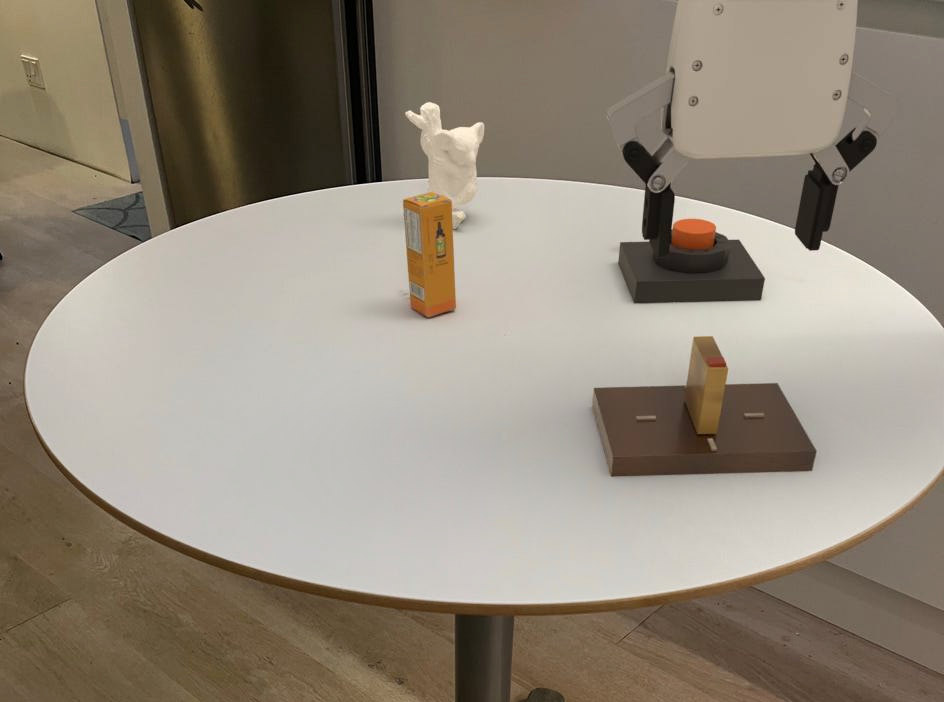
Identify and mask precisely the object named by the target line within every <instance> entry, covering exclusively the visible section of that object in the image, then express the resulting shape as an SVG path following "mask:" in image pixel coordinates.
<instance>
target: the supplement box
mask: <svg viewBox="0 0 944 702" xmlns="http://www.w3.org/2000/svg"><path fill="white" fill-rule="evenodd" d="M402 206H403V220H404V222H403V223H404V236H405V249H406V264H407V275H408V287H409V299H410V300H409V301H410V302H409V303H410V307H411V309H412V310H414V311H416V312H417V313H419V314H421V315H422V316H424V317H426V318H432V317H435V316H437V315H441V314H443V313H447V312H452V311H455V310H456V308H457V301H456V299H457V298H456V297H457V296H456V274H455V251H454V249H455V247H454V229H453V223H452V200H451V199H449V198H446V197H444V196H442V195H439V194H436V193H433V192H429V193H427V192H425V193H422V194H418V195H413V196H411V197H406V198H403V200H402Z"/></svg>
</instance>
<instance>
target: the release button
mask: <svg viewBox="0 0 944 702" xmlns="http://www.w3.org/2000/svg"><path fill="white" fill-rule="evenodd" d="M672 229H673V230H672V238H671V244H672V245H674V246H676V247H678V248H684V249H690V250H699V249H708V248H711V247H713V245H714V239H715V232H717V226H716V224H715V223H714V222H712V221H709V220H706V219H701V218H683V219H678V220H676V221H675V222H674V223H672Z"/></svg>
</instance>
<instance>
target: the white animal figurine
mask: <svg viewBox="0 0 944 702" xmlns="http://www.w3.org/2000/svg"><path fill="white" fill-rule="evenodd" d="M419 111H420V114H417V113H415V112H413V110H410V109H409V110H408V111H405V113H404V115H405V117H406V118H407V119H408V120H409V122H411V123H412V124H413V125H414V126H416V127H417V128H418V129H420V130H421V133H420V142H419V143H420V147H421V150H422V152H424V154H425V155H426V156H427V160H428V165H427V169H428V176H427V177H428V180H427V182H428V189H427V191H426V193H429V192H433V193H436V194H439V195H442V196H444V197H446V198H449V199H451V200H452V223H453V230H456V229H458V228H459V227H460V225H461V223H462V222H463V221H465V219H466V218H467V212H466V211H465V210H463V209H459V208H458V207H460V206H464V205H467V204H468V203H470V202H472V200H474V199H475V198H476V195H477V191H478V190H477V189H478V188H477V177H478V176H477V175H478V172H477V165H476V163H477V156H478V153H479V148H480V144H481V143H482V142H483V139H484V136H485V124H484V122H482V121H481V122H479V121H478V122H476V123H475V124H473V125H472V126H469V127H468V126H466V127H465V126H458V127H456V128H452V129H450V130H449V129H448V130H447V129H443V128H442V120H441V109H440V106H439V105H438V104H437V103H435V102H431V101H428V102H426V103H424V104H422V105H421V106H420V108H419Z"/></svg>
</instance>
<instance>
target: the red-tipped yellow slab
mask: <svg viewBox="0 0 944 702" xmlns="http://www.w3.org/2000/svg"><path fill="white" fill-rule="evenodd" d="M728 373H729V367H728V365H727V362H726V360H725V357H724V356H723V355H722V352H721V349H720V348H719V346H718V344H717V342H716V340H715V338H714V336H712V335H707V336H706V335H703V336H693V339H692V344H691V352H690V359H689V365H688V371H687V376H686V377H687V378H686V391H685V398H684V401H685V404H686V406H687V409H688V411H689V414H690V416H691V419H692V421H693V424H694V427H695V429H696V432H697V434H717V430H718V424H719V419H720V413H721V407H722V402H723V396H724V390H725V385H726V384H727V379H728Z"/></svg>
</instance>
